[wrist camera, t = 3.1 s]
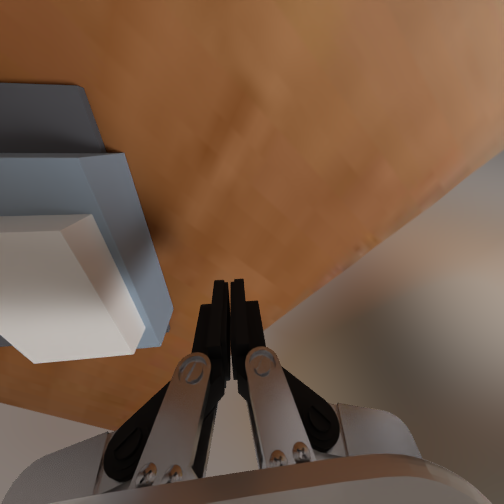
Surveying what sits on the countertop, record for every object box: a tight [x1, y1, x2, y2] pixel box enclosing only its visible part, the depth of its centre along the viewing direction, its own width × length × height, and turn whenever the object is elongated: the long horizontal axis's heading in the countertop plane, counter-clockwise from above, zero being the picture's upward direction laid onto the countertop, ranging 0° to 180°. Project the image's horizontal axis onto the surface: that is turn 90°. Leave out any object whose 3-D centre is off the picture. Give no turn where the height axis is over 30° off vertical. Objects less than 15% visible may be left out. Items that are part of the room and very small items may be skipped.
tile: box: [0, 214, 145, 364], centre depth 10 cm, size 9×6×2 cm, turn 179°
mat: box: [0, 83, 170, 347], centre depth 14 cm, size 20×20×1 cm
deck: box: [0, 153, 173, 357], centre depth 13 cm, size 14×10×4 cm
